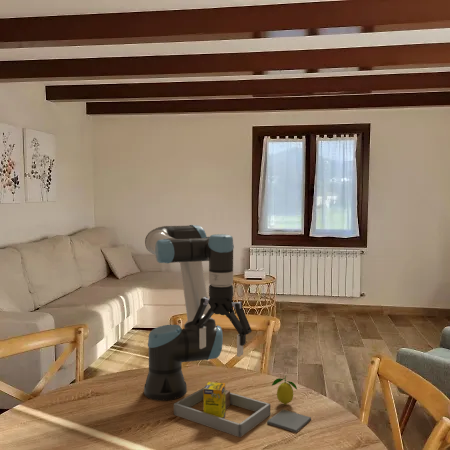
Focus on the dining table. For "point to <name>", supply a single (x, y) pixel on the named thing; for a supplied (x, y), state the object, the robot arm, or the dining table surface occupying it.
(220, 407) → the supplement box
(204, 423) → the grey bin
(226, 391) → the walnut block
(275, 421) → the slate coaster
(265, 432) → the dining table surface
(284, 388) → the lemon
